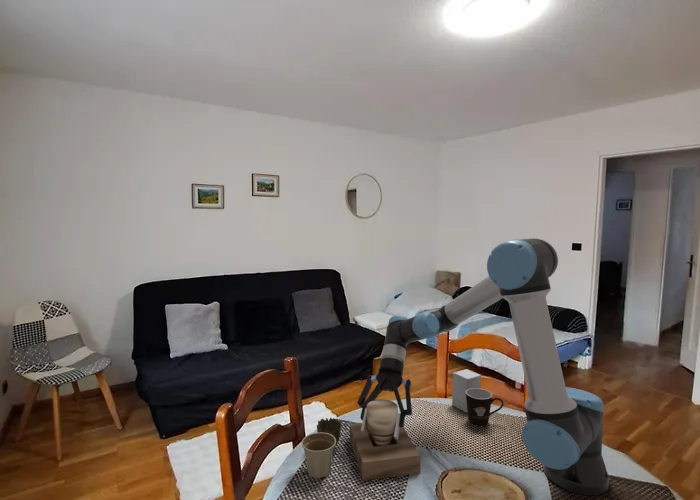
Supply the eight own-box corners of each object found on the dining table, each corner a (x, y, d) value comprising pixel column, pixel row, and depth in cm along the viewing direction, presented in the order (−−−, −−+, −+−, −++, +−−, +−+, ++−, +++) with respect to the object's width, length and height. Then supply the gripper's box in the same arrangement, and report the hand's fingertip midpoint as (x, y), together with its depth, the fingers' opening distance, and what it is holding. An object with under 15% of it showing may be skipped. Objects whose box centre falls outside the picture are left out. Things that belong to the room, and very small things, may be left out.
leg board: (420, 473, 106) (420, 455, 105) (362, 480, 103) (362, 462, 103) (398, 433, 125) (398, 418, 125) (349, 439, 123) (349, 423, 122)
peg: (401, 449, 110) (401, 412, 109) (370, 453, 109) (370, 415, 108) (392, 432, 119) (392, 398, 118) (364, 435, 118) (363, 400, 117)
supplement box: (466, 413, 138) (466, 379, 137) (451, 405, 145) (451, 372, 144) (481, 408, 142) (481, 374, 141) (465, 400, 148) (466, 368, 147)
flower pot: (304, 460, 112) (304, 431, 111) (337, 461, 111) (337, 432, 111) (299, 482, 102) (298, 451, 102) (335, 483, 102) (334, 451, 101)
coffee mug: (461, 423, 131) (461, 395, 131) (469, 413, 138) (470, 386, 138) (497, 434, 125) (497, 403, 124) (503, 422, 132) (504, 394, 131)
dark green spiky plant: (338, 457, 113) (338, 431, 112) (314, 454, 114) (313, 428, 114) (343, 443, 120) (343, 418, 120) (320, 440, 122) (320, 416, 121)
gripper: (427, 370, 123) (418, 446, 110) (362, 363, 131) (346, 432, 117) (425, 360, 118) (415, 438, 104) (357, 352, 125) (340, 424, 112)
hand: (379, 435), depth 111 cm, fingers closed on peg, 9 cm apart
